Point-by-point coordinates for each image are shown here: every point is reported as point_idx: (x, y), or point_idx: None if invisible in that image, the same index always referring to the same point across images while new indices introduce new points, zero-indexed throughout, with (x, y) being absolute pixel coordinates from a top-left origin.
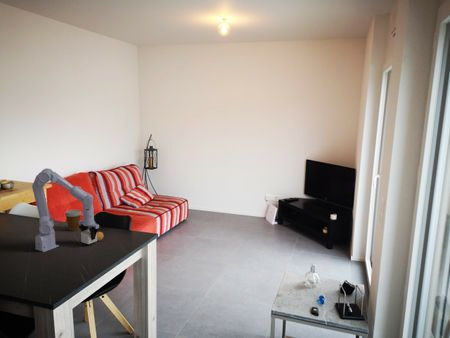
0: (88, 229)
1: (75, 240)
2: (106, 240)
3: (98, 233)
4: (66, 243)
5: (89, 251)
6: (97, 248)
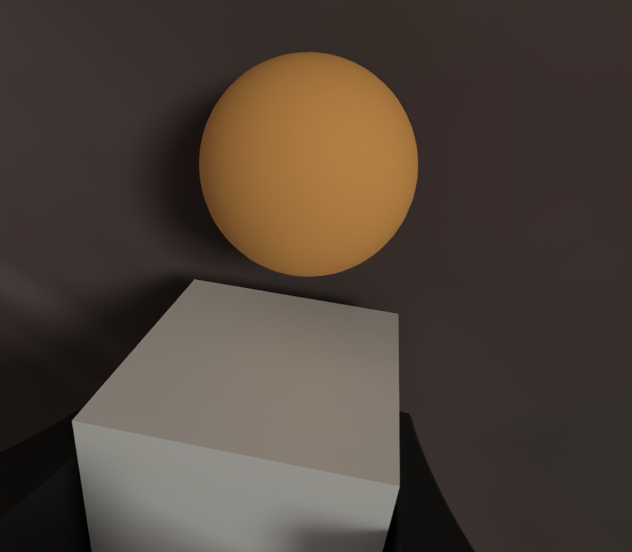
0: (87, 459)
1: (2, 313)
2: (483, 92)
3: (324, 247)
4: (16, 425)
5: (488, 532)
6: (540, 440)
